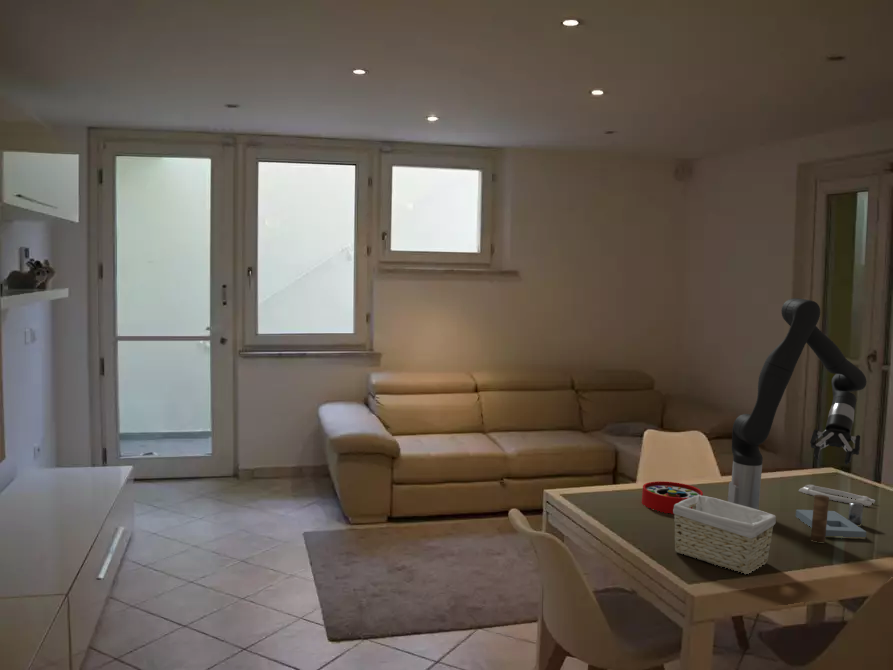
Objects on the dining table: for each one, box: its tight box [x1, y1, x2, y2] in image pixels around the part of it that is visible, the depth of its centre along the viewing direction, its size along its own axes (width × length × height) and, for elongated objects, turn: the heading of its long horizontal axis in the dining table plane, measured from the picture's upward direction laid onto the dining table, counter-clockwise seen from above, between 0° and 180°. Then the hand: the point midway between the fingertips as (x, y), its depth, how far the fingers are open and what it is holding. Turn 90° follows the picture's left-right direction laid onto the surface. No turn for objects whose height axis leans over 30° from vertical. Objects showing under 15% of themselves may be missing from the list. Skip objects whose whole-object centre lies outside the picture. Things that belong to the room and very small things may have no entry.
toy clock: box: [641, 480, 704, 515], centre depth 268 cm, size 20×6×20 cm
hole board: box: [795, 509, 867, 538], centre depth 252 cm, size 13×20×2 cm, turn 0°
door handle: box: [797, 484, 876, 507], centre depth 286 cm, size 3×10×25 cm
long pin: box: [810, 495, 830, 543], centre depth 238 cm, size 4×4×14 cm
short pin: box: [847, 502, 864, 525], centre depth 256 cm, size 4×4×7 cm
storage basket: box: [673, 495, 777, 575], centre depth 220 cm, size 24×16×15 cm
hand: (831, 460), depth 249 cm, fingers open, 8 cm apart
